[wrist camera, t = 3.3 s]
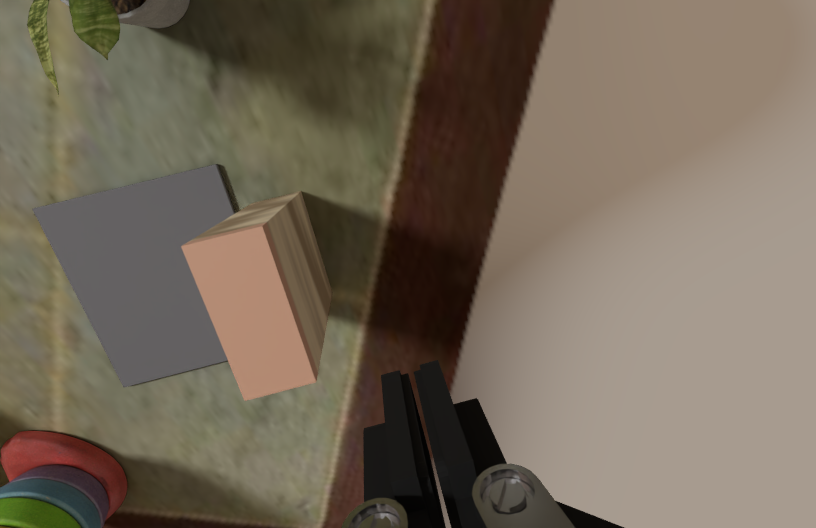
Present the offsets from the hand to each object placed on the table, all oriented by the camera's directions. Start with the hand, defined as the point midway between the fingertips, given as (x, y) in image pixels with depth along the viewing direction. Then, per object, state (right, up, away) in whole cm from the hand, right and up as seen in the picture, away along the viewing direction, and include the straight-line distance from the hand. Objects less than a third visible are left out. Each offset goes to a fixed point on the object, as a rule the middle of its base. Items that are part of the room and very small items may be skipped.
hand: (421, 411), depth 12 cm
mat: (-20, +3, +23) cm, 30 cm away
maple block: (-10, +5, +23) cm, 26 cm away
